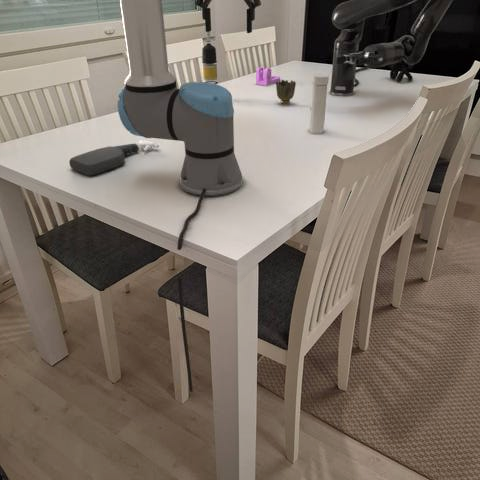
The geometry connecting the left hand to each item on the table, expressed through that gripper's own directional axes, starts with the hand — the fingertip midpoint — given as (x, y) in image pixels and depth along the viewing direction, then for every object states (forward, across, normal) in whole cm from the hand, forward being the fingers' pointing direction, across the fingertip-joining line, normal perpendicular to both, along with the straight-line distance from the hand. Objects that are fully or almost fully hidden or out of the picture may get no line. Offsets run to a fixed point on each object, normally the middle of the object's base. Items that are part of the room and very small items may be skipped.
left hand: (228, 32), depth 139 cm
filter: (+28, +18, -25) cm, 42 cm away
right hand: (+10, -35, -16) cm, 40 cm away
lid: (+11, -30, +2) cm, 32 cm away
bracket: (+28, +4, -59) cm, 65 cm away
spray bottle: (+28, +18, +43) cm, 54 cm away
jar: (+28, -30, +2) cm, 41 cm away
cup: (+28, -12, -26) cm, 40 cm away
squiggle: (+28, -52, -78) cm, 98 cm away
